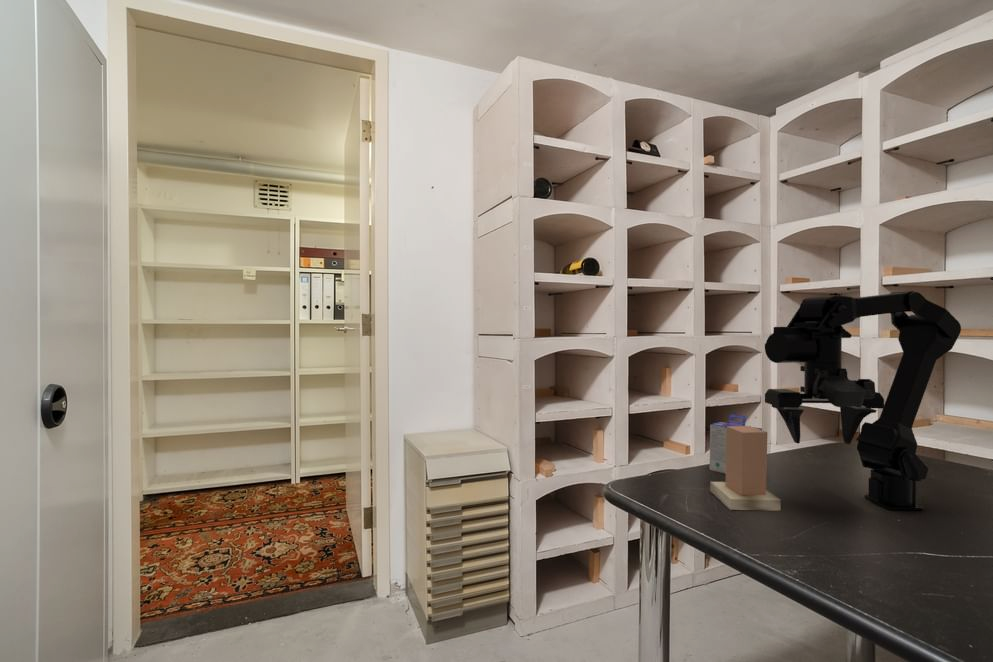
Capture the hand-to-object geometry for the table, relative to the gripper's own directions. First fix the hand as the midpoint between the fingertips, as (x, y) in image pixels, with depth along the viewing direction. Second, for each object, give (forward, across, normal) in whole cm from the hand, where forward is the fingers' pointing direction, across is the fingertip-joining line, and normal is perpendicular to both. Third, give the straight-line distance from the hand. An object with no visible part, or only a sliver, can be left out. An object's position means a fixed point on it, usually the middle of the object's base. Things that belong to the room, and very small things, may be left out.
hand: (822, 443), depth 87 cm
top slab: (+12, -14, +1) cm, 18 cm away
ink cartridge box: (+13, -8, +18) cm, 24 cm away
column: (+10, -14, +1) cm, 17 cm away
